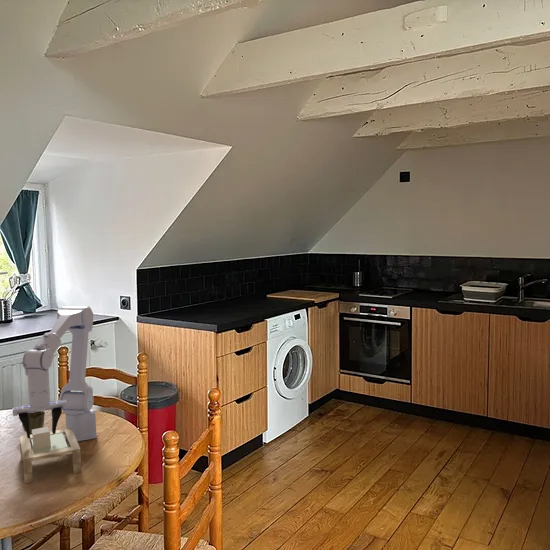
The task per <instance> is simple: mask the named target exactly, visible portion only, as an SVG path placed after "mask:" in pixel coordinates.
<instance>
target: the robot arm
mask: <svg viewBox="0 0 550 550" xmlns="http://www.w3.org/2000/svg"><path fill="white" fill-rule="evenodd" d="M56 319H57V320H56V321H55V323H54V325H52V328H51V329H50V331H49V332H45V333H44V334H42V336H41V338H40V339H39V340H38V341H37V343H36V344H35V345H34V347H33V348H32V349H28V350H27V351H25V353H24V354H23V358H22V361H21V362H22V363H21V364H22V367H23V369H24V372H25V376H26V377H27V388H28V390H27V391H28V404H24V405H20V406H15V407H12V416H13V417H15V416H18V419H19V420H20V422H21V424H23V426H24V428H25V430H26V432H25V433H26V435H27V438H30V431H29V417H28V413H33V412H39V411H41V412H42V411H43V412H45V411H50V410H51V431H52V433H53V434H56V430H57V427H58V422H59V421H60V420H59V419H60V417H61V415H62V413H63V414H65V429H68V428H72V430H73V433H74V435H75V437H76V440H77V442H82V441H86V440H93V439H97V438H98V436H97V418H96V411H95V409H94V408H93V406H94V403H95V402H94V401H95V399H94V393H93V391H94V389H93V387H92V386H91V385H89V384H88V383H87V382H86V375H87V373H86V371H87V360H88V359H87V358H88V346H89V344H88V343H89V332H91V331H93V327H94V326H93V325H94V313H93V310H92V308H91V307H90V306H88V305H87V306H73V305H72V306H71V305H70V306H67V305H62V306H60V307H59V309H58V310H57V312H56ZM67 331H68V332H70V333H71V335H72V338H71V339H72V340H71V352H70V353H71V354H70V365H69V367H70V368H69V378H68V383H66V384H65V385H63V387H61V392H60V396H59V398H58V400H51V393H50V372H49V371H50V367H52V364H53V359H54V357H55V355H54V354H55V353H56V351H57V350H58V349H59V347H60V346H61V343H62V340H61V338H62V337H63V336H64V335H65V334H66V332H67ZM23 426H22V427H23ZM64 438H65V435H64Z"/></svg>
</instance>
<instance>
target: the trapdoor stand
mask: <svg viewBox="0 0 550 550" xmlns="http://www.w3.org/2000/svg"><path fill="white" fill-rule="evenodd" d="M49 431H50V435H55V434H53V433H52V430H49ZM59 433H63V435H65V437H64V438H65V441H66V443H67V446H68V448H63V449H58V450H52V451H47V452H41V453H36V454H34V452H33V448H32V443H31V439H33V438H32V435H30V438H27V434H26V435H21V436H19V448H20V449H19V450H20V461H21V462H23V477H24V478H23V479H24V480H23V481H24V484H29V483H33V482H34V481H33V478H34V477H33V464H32V463H33V462H34V461H35V462H36V461H40V460H41V461H42V460H46V459H51V458H56V457H61V456H68V454H69V455H72V471H74V472H73V474H77V472H79V473H82V459H81V458H82V457H81V456H82V455H81V447H80V445H79V441H77V440H76V437H75V435H74V433H73V430H72V428H68V429H66V428H63V429H56V434H59Z"/></svg>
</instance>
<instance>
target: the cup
mask: <svg viewBox="0 0 550 550" xmlns="http://www.w3.org/2000/svg"><path fill="white" fill-rule="evenodd" d="M45 414H46V413H45V411H39V412H32V413H28V417H29V431H30V435H32V430H33V429H38V428H43V427H44V425H45ZM21 424H22V423H21ZM22 429H23V431H24V432H25V433H26V430H25V428H24V426H23V424H22Z"/></svg>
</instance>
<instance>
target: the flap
mask: <svg viewBox="0 0 550 550" xmlns="http://www.w3.org/2000/svg"><path fill="white" fill-rule="evenodd" d="M50 441H51V446H50V447H45V448H41V449H36V450H34V446H33V439H31V441H30V444H31V449H32V453H33V454H36V453H41V452H47V451H52V450H58V449H63V448H68V446H67V443H66V441H65V437H64V435H63V433H59V434H55V435H50ZM68 455H70V454H68ZM68 455H67V456H68Z"/></svg>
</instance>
